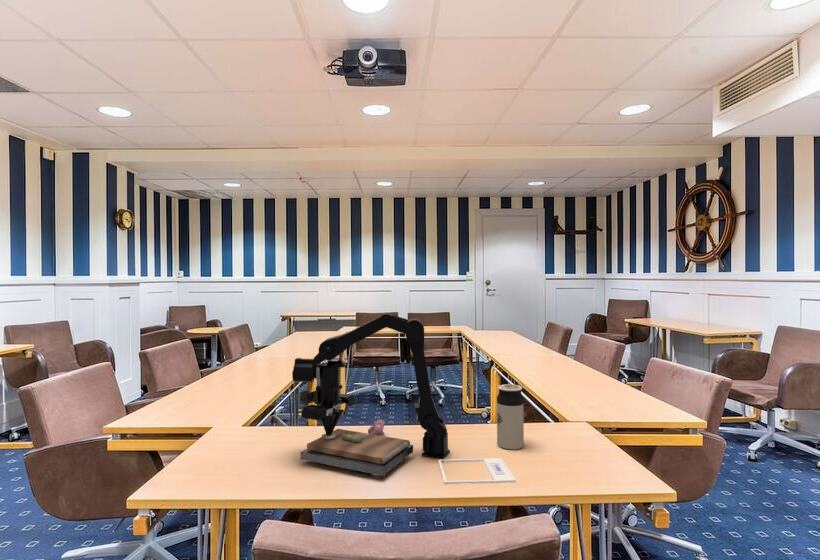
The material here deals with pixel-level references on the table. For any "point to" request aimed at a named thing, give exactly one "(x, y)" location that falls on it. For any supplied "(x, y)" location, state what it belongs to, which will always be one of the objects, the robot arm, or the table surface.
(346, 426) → the table surface
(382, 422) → the purple lumpy shape
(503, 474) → the photo frame
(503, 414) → the travel mug
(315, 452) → the dark grey flat box
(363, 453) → the plate
